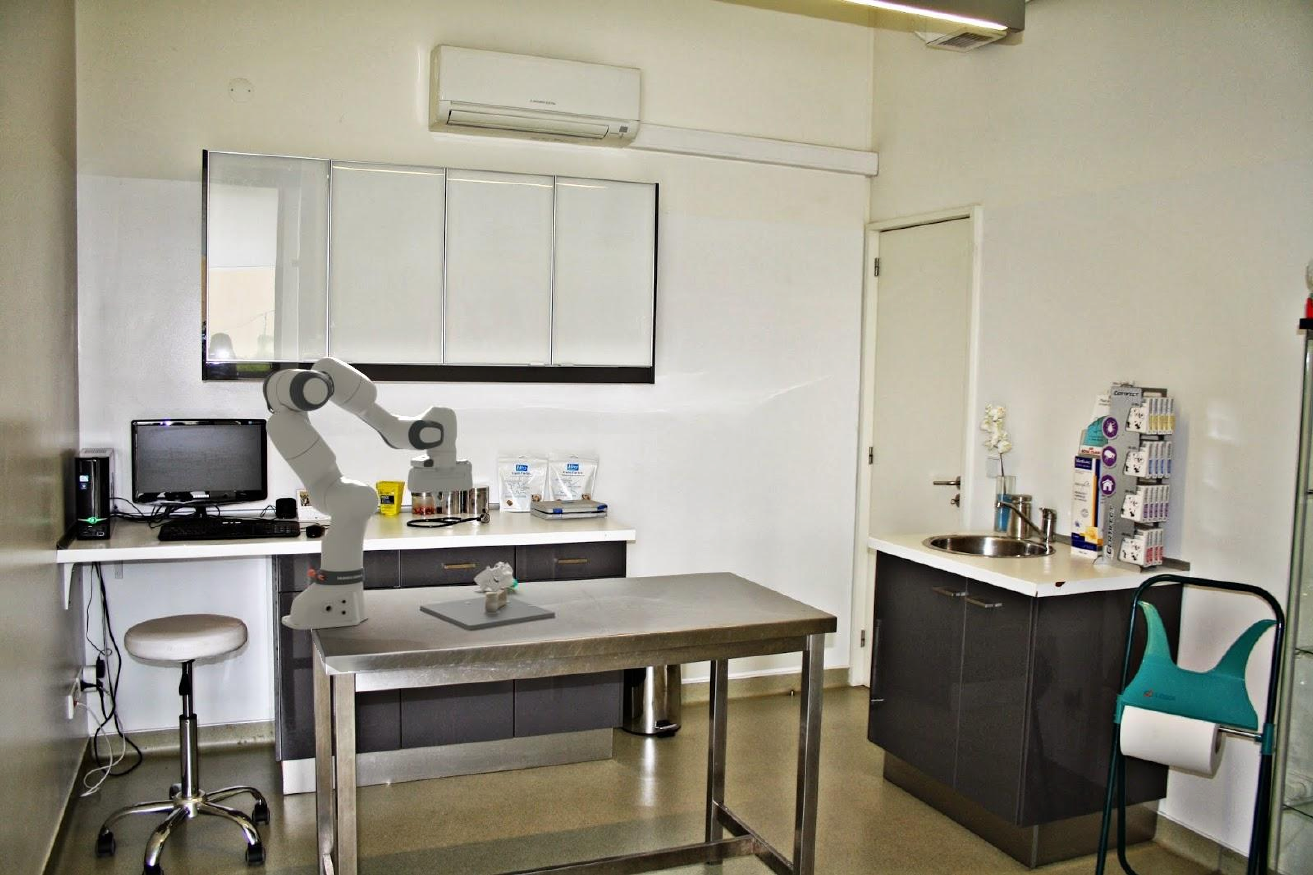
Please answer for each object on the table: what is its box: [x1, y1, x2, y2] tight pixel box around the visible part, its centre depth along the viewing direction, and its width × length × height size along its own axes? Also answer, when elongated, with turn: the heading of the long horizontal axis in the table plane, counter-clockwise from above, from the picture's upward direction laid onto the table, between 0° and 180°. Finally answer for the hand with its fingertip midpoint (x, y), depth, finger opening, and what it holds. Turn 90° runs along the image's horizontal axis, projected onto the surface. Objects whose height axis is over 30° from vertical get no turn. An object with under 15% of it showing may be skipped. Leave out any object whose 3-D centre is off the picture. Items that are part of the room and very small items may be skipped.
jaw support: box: [473, 561, 519, 592], centre depth 321 cm, size 12×9×10 cm
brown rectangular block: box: [484, 587, 508, 613], centre depth 290 cm, size 4×14×5 cm, turn 172°
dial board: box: [419, 596, 556, 631], centre depth 289 cm, size 28×28×1 cm
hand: (440, 506), depth 299 cm, fingers closed
